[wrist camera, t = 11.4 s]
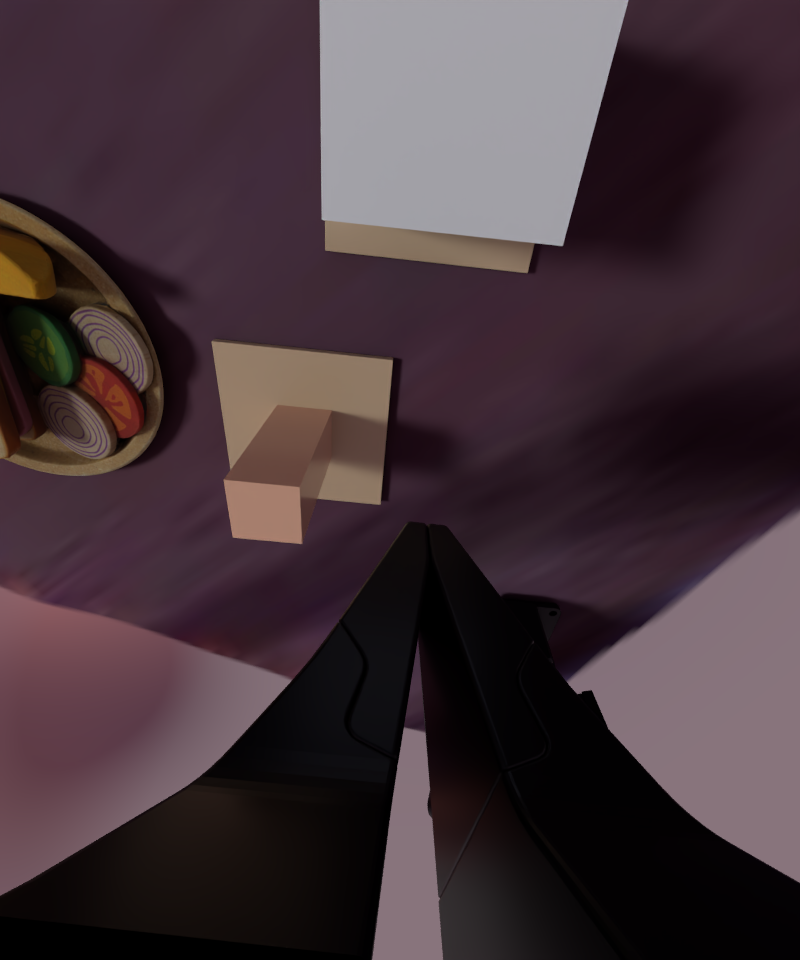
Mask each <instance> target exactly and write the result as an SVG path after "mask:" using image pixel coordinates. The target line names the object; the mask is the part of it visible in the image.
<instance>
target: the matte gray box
mask: <svg viewBox="0 0 800 960" xmlns="http://www.w3.org/2000/svg"><path fill="white" fill-rule="evenodd" d="M627 3H628V0H320V80H321V191H322V220H327V221H336V222H345V223H355V224H364V225H373V226H382V227H391V228H401V229H410V230H419V231H428V232H437V233H447V234H456V235H465V236H474V237H483V238H493V239H502V240H511V241H520V242H529V243H538V244H548V245H557V246H563V243H564V239H565V236H566V232H567V228H568V224H569V221H570V217H571V213H572V209H573V206H574V202H575V198H576V194H577V191H578V187H579V183H580V179H581V176H582V172H583V168H584V164H585V161H586V157H587V153H588V150H589V146H590V142H591V138H592V135H593V131H594V127H595V123H596V120H597V116H598V112H599V108H600V105H601V101H602V97H603V93H604V90H605V86H606V82H607V78H608V75H609V71H610V67H611V63H612V60H613V56H614V52H615V48H616V45H617V41H618V37H619V33H620V30H621V26H622V22H623V18H624V15H625V11H626V7H627Z"/></svg>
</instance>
